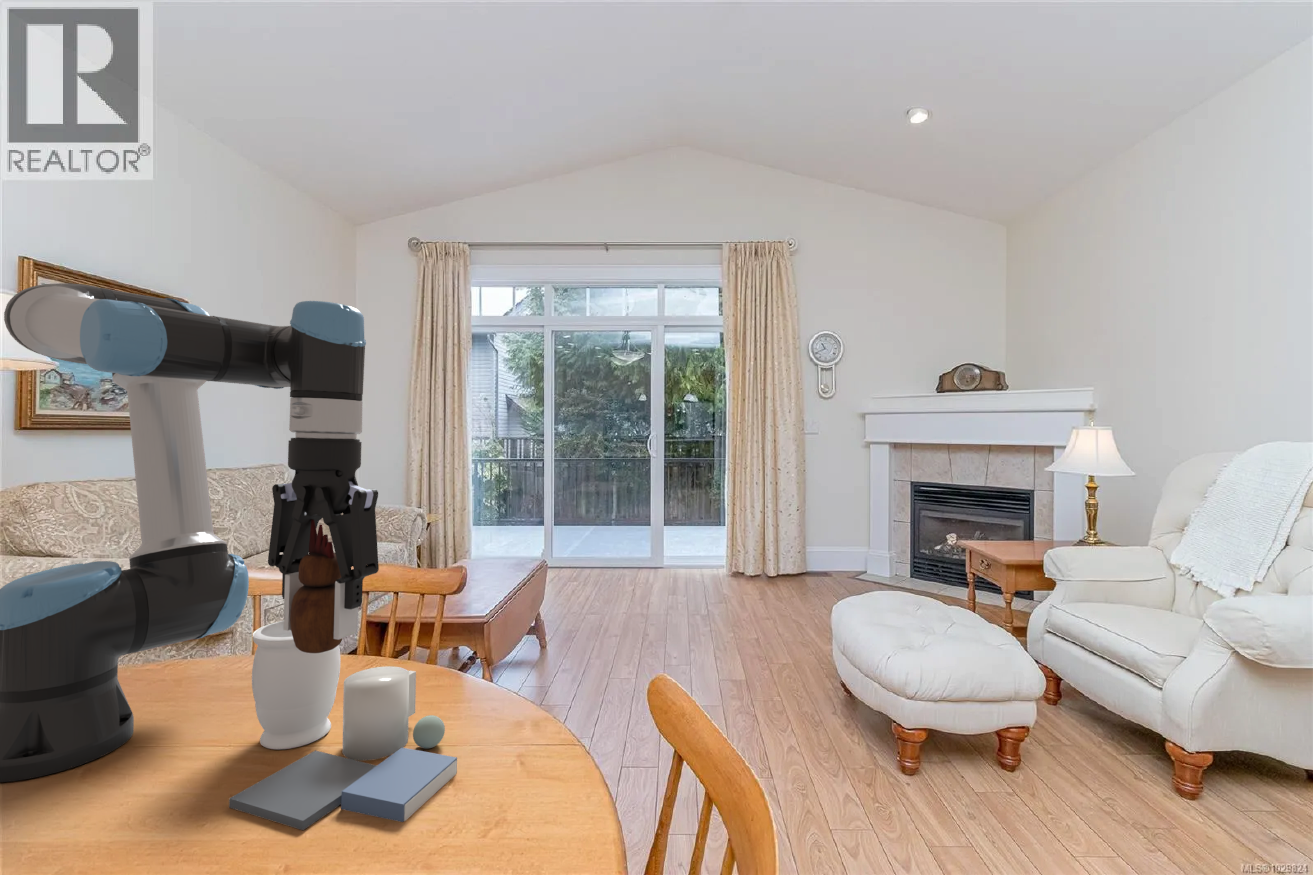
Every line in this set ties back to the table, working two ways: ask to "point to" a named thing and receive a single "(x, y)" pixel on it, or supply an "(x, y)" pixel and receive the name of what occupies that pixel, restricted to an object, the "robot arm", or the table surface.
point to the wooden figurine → (315, 596)
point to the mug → (377, 711)
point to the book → (399, 784)
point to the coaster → (301, 790)
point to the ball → (428, 731)
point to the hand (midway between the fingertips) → (320, 630)
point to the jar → (292, 688)
